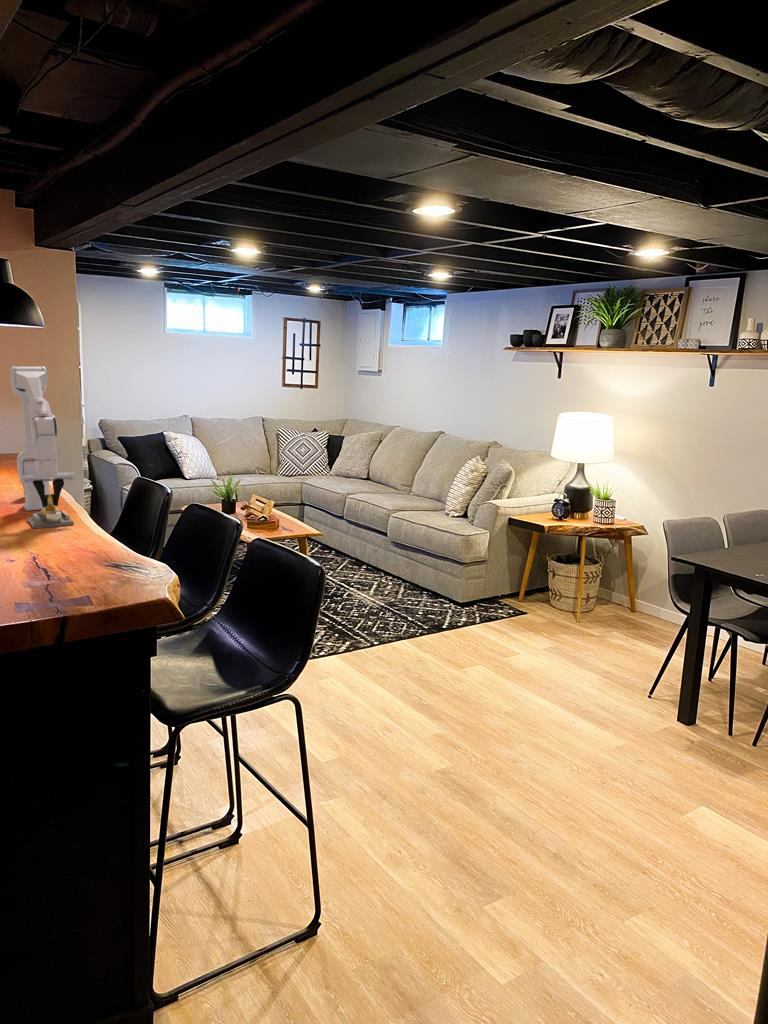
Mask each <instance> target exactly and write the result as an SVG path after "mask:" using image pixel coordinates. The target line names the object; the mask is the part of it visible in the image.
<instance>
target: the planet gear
mask: <svg viewBox="0 0 768 1024" xmlns="http://www.w3.org/2000/svg"><path fill="white" fill-rule="evenodd" d="M45 501H46V507H45V509H39V512H41V516H43V517H46V513H48V512H50V511H54V510H55V511H57V512H60V511H61V509H60V508H57V507H56V506H55V499H54V493H50V494H45Z"/></svg>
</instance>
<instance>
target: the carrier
mask: <svg viewBox="0 0 768 1024" xmlns="http://www.w3.org/2000/svg"><path fill="white" fill-rule="evenodd" d="M26 519H27V520H26V521H27V522H28V523H29V525H31V527H32V528H33V530H35V529H36V530H37V529H46V528H56V527H66V526H74V520H73V519H71V517H70V514H69V513H68V512H67V511H66V510H60V512H57V511H55V510H54V511H50V512H48V513H46V517H43V516H41V511H39V512H35V513H32V516H27V518H26Z"/></svg>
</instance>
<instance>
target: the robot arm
mask: <svg viewBox="0 0 768 1024" xmlns="http://www.w3.org/2000/svg"><path fill="white" fill-rule="evenodd" d="M47 370H48V369H47V368H46V367H45V366H44V365H42V366H14V365H13V366H12V365H11V367H10V368H9V377H10V384H11V385H10V386H11V391H12V394H14V395H17V396H18V397H19V399H20V403H21V412H22V421H23V431H24V442H25V449H23V450H22V451H21V452H20V453H18V455H17V457H16V461H17V462H16V467H17V468H16V469H17V476H18V478H19V483H20V484H23V483H24V487H23V492H24V491H25V495H24V500H25V503H22V507H23V509H24V510H25V511H38V510H39V511H40V510H42V509H45V507H46V501H45V494H51V492H50V490H51V489H50V482H52V490H53V494H54V499H55V507H58V506H59V499H60V495H61V492H62V490H63V489H64V488H63V487H64V485H65V481H68V480H69V481H70V480H71V481H74V480H75V481H76V473H75V472H74V471H73V472H59V464H58V462H59V461H58V451H57V438H56V437H57V436H58V421H57V418H56V416H55V415H54V414H53V413H52V411H51V407H50V403H49V401H48V400H46V399H45V398H44V395H43V394H44V393H45V392H46V390H47V386H48V384H49V382H48V381H49V377H48V371H47ZM32 458H33V459H32Z"/></svg>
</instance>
